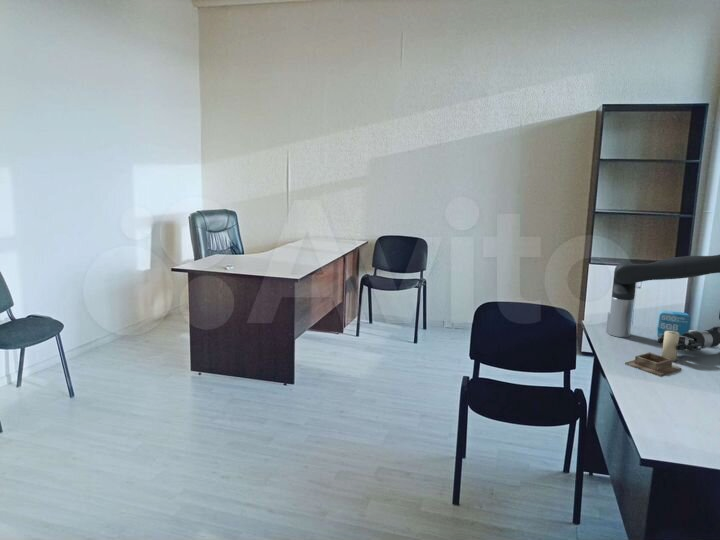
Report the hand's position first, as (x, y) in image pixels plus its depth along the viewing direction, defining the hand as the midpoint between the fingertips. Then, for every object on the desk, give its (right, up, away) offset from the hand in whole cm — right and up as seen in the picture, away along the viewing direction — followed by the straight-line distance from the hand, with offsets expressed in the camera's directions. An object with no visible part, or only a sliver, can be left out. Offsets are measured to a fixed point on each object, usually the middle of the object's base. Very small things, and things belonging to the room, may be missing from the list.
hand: (667, 344), depth 222 cm
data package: (+17, -1, +28) cm, 33 cm away
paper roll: (+2, -6, +2) cm, 7 cm away
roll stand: (-9, -8, -7) cm, 14 cm away
